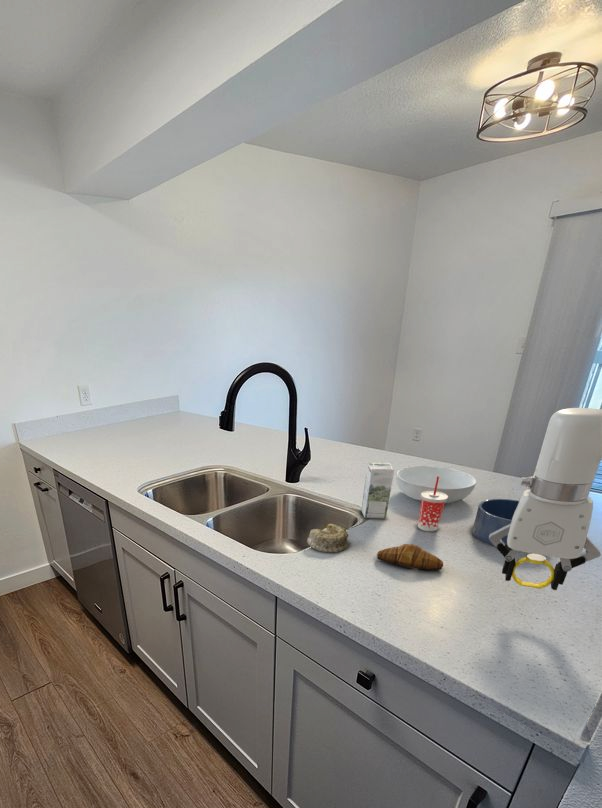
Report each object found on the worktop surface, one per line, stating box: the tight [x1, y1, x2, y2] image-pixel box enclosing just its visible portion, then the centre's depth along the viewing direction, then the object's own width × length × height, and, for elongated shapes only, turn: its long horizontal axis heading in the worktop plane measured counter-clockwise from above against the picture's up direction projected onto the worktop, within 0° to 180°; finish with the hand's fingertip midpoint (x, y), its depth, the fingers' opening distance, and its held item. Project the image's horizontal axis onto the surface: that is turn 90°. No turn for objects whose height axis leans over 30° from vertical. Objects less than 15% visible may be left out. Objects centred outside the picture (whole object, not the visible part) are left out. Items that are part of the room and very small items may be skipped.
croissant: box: [376, 543, 444, 571], centre depth 96 cm, size 14×7×5 cm, turn 64°
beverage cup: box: [417, 476, 448, 532], centre depth 110 cm, size 6×6×14 cm
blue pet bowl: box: [471, 498, 520, 546], centre depth 105 cm, size 14×14×7 cm
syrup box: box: [360, 462, 395, 520], centre depth 118 cm, size 6×6×14 cm
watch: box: [511, 553, 555, 590], centre depth 77 cm, size 6×3×6 cm, turn 55°
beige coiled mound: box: [306, 523, 349, 553], centre depth 107 cm, size 10×10×5 cm
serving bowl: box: [395, 465, 477, 504], centre depth 129 cm, size 21×21×7 cm
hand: (530, 580), depth 78 cm, fingers closed on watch, 6 cm apart
